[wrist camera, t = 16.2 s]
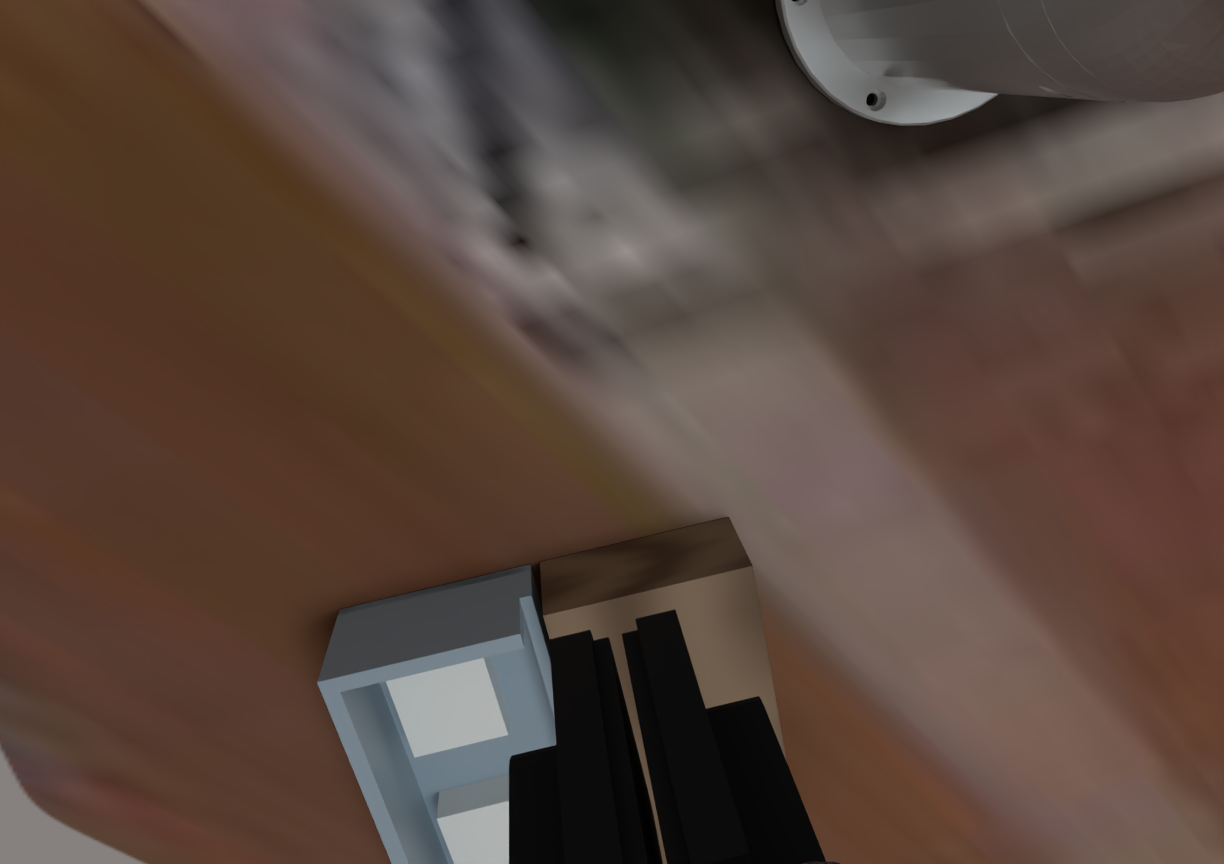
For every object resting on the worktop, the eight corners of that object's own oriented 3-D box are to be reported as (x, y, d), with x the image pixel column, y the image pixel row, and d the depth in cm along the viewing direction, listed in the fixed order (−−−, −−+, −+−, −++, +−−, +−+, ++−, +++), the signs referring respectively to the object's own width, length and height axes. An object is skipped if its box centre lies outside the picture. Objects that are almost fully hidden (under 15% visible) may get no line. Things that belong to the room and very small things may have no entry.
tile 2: (436, 818, 50) (439, 791, 52) (462, 885, 52) (463, 856, 53) (526, 796, 50) (526, 769, 52) (549, 862, 52) (548, 835, 54)
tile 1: (385, 680, 46) (390, 657, 48) (414, 757, 48) (417, 732, 50) (483, 657, 46) (484, 634, 48) (508, 735, 48) (508, 709, 50)
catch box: (530, 564, 47) (533, 630, 42) (610, 847, 55) (621, 935, 50) (339, 609, 47) (317, 682, 42) (446, 887, 55) (439, 980, 49)
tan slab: (728, 517, 48) (752, 565, 43) (781, 806, 55) (806, 874, 51) (539, 561, 47) (542, 615, 43) (618, 846, 55) (628, 917, 51)
